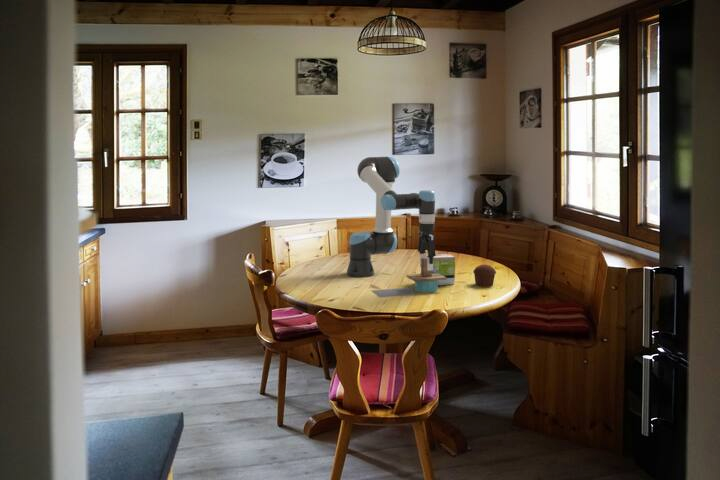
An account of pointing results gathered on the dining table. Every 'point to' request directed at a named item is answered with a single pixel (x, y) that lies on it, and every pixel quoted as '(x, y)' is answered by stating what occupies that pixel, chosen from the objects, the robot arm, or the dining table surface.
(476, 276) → the muffin
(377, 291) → the charcoal mat
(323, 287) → the dining table surface
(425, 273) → the walnut lid
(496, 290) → the dining table surface
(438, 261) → the tea box
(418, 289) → the teal bowl
